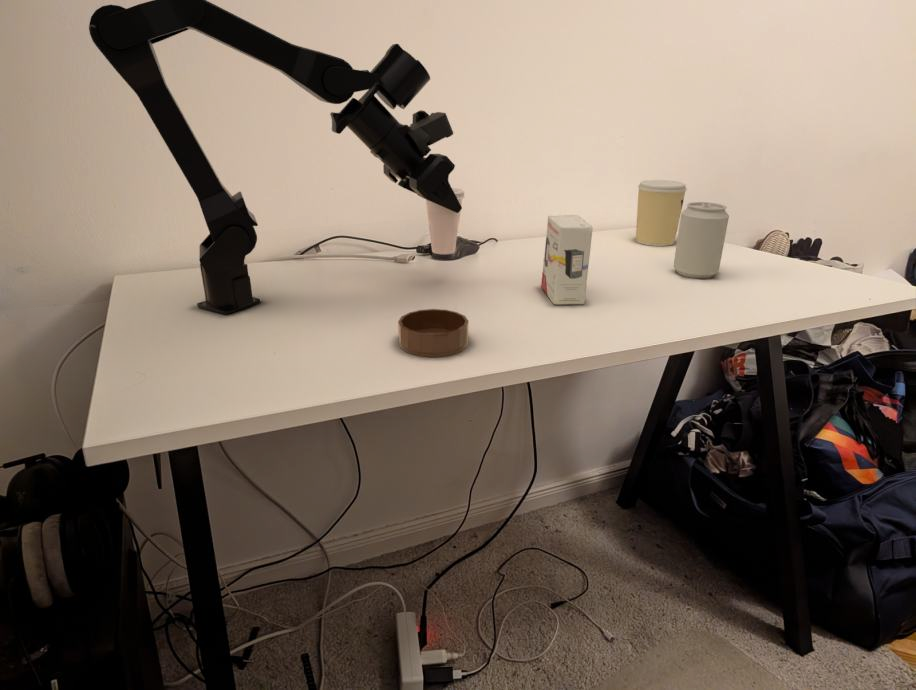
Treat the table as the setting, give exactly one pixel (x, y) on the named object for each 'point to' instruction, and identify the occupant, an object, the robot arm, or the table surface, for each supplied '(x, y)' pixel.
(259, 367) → the table surface
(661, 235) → the yellow lidded canister
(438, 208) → the smoothie
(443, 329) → the brown bowl
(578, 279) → the ink box
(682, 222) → the can
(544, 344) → the table surface
